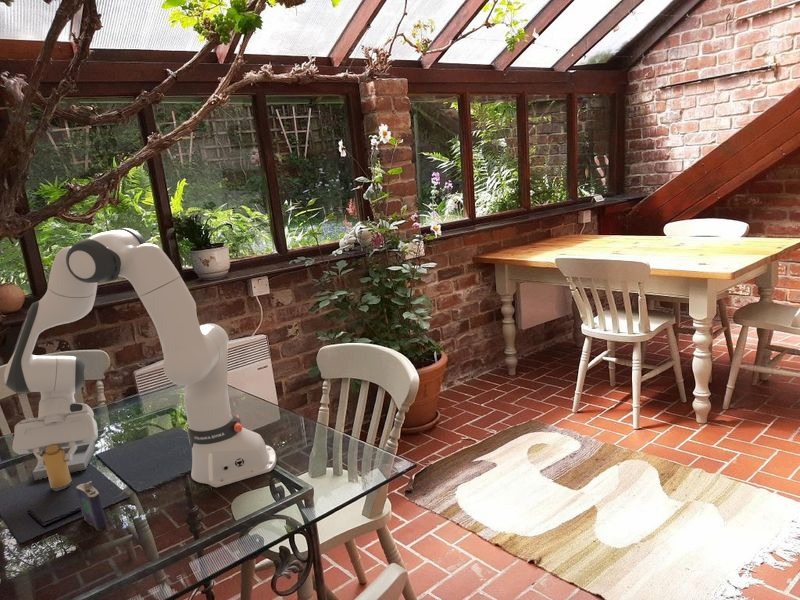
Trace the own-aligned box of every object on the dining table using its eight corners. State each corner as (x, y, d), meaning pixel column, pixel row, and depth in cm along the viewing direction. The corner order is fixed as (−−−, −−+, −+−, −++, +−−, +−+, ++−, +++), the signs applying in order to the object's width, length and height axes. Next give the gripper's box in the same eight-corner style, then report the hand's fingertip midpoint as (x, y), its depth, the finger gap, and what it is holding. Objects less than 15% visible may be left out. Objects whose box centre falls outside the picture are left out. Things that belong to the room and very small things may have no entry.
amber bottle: (74, 479, 165) (64, 440, 162) (69, 489, 160) (59, 448, 157) (54, 483, 164) (44, 444, 161) (48, 493, 159) (38, 452, 156)
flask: (81, 519, 146) (72, 479, 143) (93, 513, 148) (84, 474, 145) (99, 532, 140) (89, 491, 138) (111, 525, 142) (102, 485, 140)
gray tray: (95, 449, 181) (94, 441, 181) (85, 470, 169) (83, 462, 168) (48, 457, 178) (46, 450, 178) (34, 480, 166) (32, 472, 165)
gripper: (10, 417, 161) (6, 467, 154) (93, 403, 166) (92, 452, 159) (19, 425, 166) (16, 474, 160) (99, 411, 171) (99, 459, 164)
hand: (55, 463), depth 159 cm, fingers closed on amber bottle, 5 cm apart
